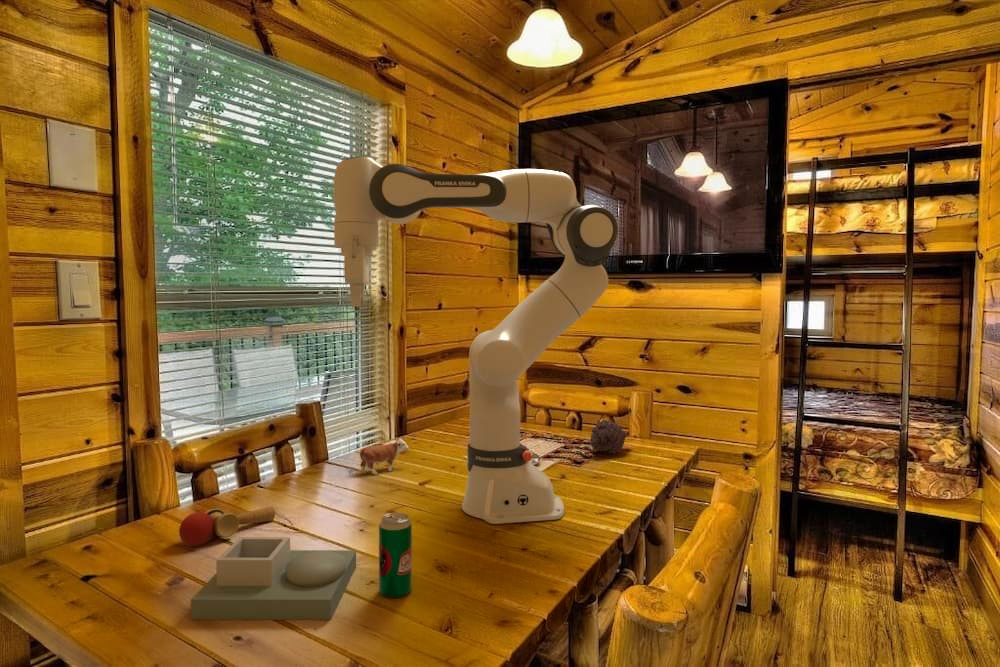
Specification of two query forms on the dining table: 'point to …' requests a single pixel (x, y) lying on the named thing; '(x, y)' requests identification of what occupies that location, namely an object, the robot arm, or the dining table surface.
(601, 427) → the pine cone
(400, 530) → the soda can
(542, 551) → the dining table surface
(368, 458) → the bull figurine
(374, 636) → the dining table surface
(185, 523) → the kendama
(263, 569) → the grey desk organizer tray
